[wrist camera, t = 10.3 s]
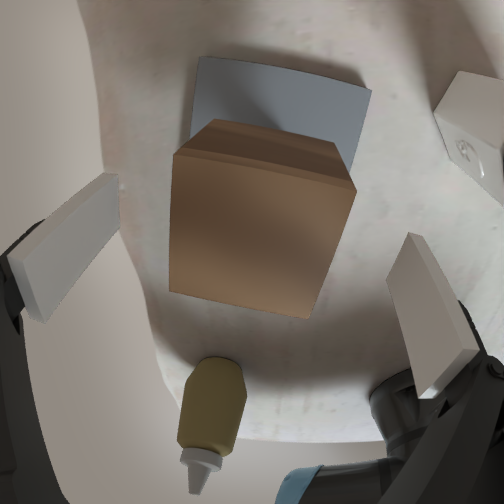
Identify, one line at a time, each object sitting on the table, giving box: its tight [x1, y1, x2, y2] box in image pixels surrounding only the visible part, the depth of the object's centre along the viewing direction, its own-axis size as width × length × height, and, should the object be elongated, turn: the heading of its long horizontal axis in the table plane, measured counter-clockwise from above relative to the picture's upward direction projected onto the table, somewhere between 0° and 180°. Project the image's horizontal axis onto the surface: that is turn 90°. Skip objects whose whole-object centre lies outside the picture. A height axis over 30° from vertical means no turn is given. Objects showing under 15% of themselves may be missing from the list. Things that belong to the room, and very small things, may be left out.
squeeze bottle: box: [177, 357, 247, 496], centre depth 33 cm, size 8×8×18 cm
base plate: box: [189, 57, 372, 172], centre depth 23 cm, size 12×12×2 cm
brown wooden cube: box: [169, 118, 357, 319], centre depth 14 cm, size 6×6×6 cm
